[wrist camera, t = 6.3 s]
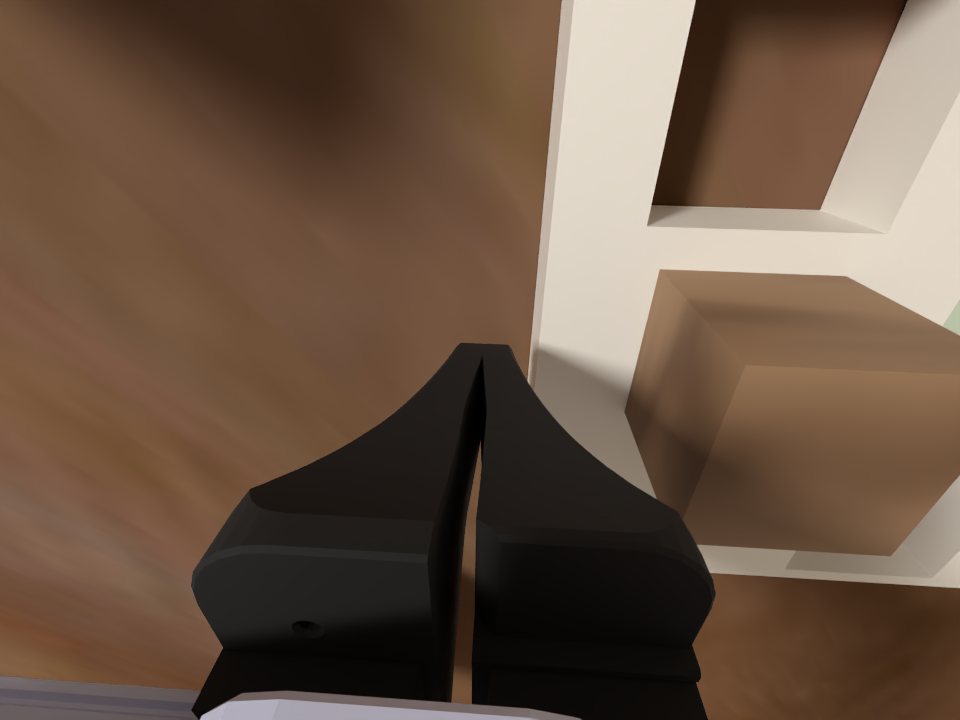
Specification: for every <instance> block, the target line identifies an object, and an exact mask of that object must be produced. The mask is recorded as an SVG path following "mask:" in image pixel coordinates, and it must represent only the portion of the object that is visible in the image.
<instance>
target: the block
mask: <svg viewBox="0 0 960 720" xmlns="http://www.w3.org/2000/svg"><path fill="white" fill-rule="evenodd" d="M624 412H625V415H626V418H627V420H628V423H629V426H630V428H631V431H632V434H633V437H634V439H635V442H636V445H637V447H638V450H639V453H640V455H641V458H642V461H643V463H644V466H645V469H646V471H647V474H648V477H649V479H650V482H651V485H652V488H653V490H654V493H655V496H656V498H657V500H659V501H661V502H662V503H664V504H666V505H667V506H669V507H671V508H672V509H674V510H676V511H677V512H678V513H679V514H680V516H681V518H682V520H683V521H684V523H685V525H686V527H687V528H688V530H689V532H690V533H691V535H692V537H693V539H694V540H695V542H696V544H697V545H711V546H728V547H744V548H761V549H777V550H794V551H810V552H827V553H843V554H860V555H876V556H891V555H892V554H893V553H894V552H895V551H896V550H897V548H898V547H899V546H900V545H901V544H902V543H903V541H904V540H905V539H906V538H907V537H908V535H909V534H910V533H911V532H912V531H913V530H914V528H915V527H916V526H917V525H918V524H919V523H920V521H921V520H922V519H923V518H924V517H925V515H926V514H927V513H928V512H929V511H930V510H931V508H932V507H933V506H934V505H935V504H936V503H937V501H938V500H939V499H940V498H941V497H942V495H943V494H944V493H945V492H946V491H947V490H948V488H949V487H950V486H951V485H952V484H953V483H954V481H955V480H956V479H957V478H958V477H959V475H960V335H958V334H956V333H954V332H952V331H950V330H948V329H946V328H944V327H943V326H941V325H939V324H937V323H935V322H933V321H931V320H929V319H927V318H925V317H923V316H921V315H920V314H918V313H916V312H914V311H912V310H910V309H908V308H906V307H904V306H902V305H900V304H899V303H897V302H895V301H893V300H891V299H889V298H887V297H885V296H883V295H881V294H879V293H877V292H876V291H874V290H872V289H870V288H868V287H866V286H864V285H862V284H860V283H858V282H856V281H855V280H853V279H851V278H849V277H847V276H830V275H803V274H776V273H749V272H722V271H695V270H668V269H660V270H659V274H658V278H657V282H656V286H655V290H654V294H653V299H652V303H651V307H650V311H649V315H648V319H647V323H646V327H645V331H644V335H643V339H642V343H641V347H640V351H639V355H638V359H637V363H636V367H635V371H634V375H633V379H632V383H631V387H630V391H629V395H628V399H627V403H626V407H625V411H624Z"/></svg>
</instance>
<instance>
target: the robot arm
mask: <svg viewBox="0 0 960 720" xmlns="http://www.w3.org/2000/svg"><path fill="white" fill-rule="evenodd" d="M480 441H481V460H482V471H481V481H480V490H479V499H478V508H477V517H476V568H475V617H474V633H473V648H472V704H460V703H451V699H452V685H453V672H454V658H455V645H456V632H457V620H458V607H459V595H460V582H461V570H462V558H463V546H464V535H465V525H466V518H467V511H468V506H469V500H470V495H471V490H472V484H473V479H474V473H475V468H476V463H477V457H478V452H479V446H480ZM191 587H192V590H193V592H194V595H195V598H196V601H197V603H198V606H199V607H200V609H201V611H202V612H203V614H204V616H205V617H206V619H207V621H208V622H209V624H210V626H211V628H212V629H213V631H214V633H215V634H216V636H217V638H218V639H219V641H220V643H221V644H222V646H223V649H222V651H221V653H220V655H219V657H218V659H217V661H216V663H215V665H214V667H213V669H212V671H211V673H210V674H209V676H208V678H207V680H206V682H205V684H204V686H203V688H202V690H201V691H198V690H185V689H171V688H158V687H145V686H131V685H118V684H104V683H91V682H78V681H64V680H51V679H37V678H24V677H10V676H0V720H708V719H707V716H706V712H705V709H704V706H703V703H702V700H701V697H700V694H699V691H698V688H697V684H696V682H699V680H700V678H701V671H700V667H699V664H698V661H697V658H696V655H695V653H694V650H693V647H692V644H693V642H694V640H695V638H696V636H697V634H698V633H699V631H700V629H701V627H702V625H703V623H704V621H705V620H706V618H707V616H708V614H709V612H710V610H711V608H712V605H713V601H714V598H715V595H716V594H715V589H714V584H713V579H712V577H711V575H710V572H709V570H708V568H707V565H706V563H705V561H704V558H703V556H702V554H701V552H700V550H699V548H698V546H697V544H696V542H695V540H694V539H693V537H692V535H691V533H690V532H689V530H688V528H687V527H686V525H685V523H684V521H683V520H682V518H681V516H680V514H679V513H678V512H677V511H676V510H674V509H672V508H671V507H669V506H667V505H666V504H664V503H662V502H661V501H659V500H657V499H656V498H654V497H652V496H651V495H649V494H647V493H646V492H644V491H642V490H641V489H639V488H637V487H636V486H634V485H633V484H631V483H630V482H628V481H627V480H625V479H624V478H622V477H621V476H620V475H618V474H617V473H615V472H614V471H613V470H611V469H610V468H608V467H607V466H606V465H604V464H603V463H602V462H601V461H599V460H598V459H597V458H596V457H594V456H593V455H592V454H591V453H590V452H588V451H587V450H586V449H585V448H584V447H583V446H581V445H580V444H579V443H578V442H577V441H576V440H575V439H574V438H573V437H572V436H571V435H570V434H569V433H568V432H567V431H566V430H565V429H564V428H563V427H562V426H561V425H560V424H559V423H558V422H557V420H556V419H555V418H554V417H553V416H552V415H551V413H550V412H549V411H548V410H547V408H546V407H545V406H544V404H543V403H542V402H541V400H540V399H539V398H538V396H537V395H536V393H535V392H534V391H533V389H532V387H531V386H530V384H529V383H528V381H527V379H526V378H525V376H524V374H523V373H522V371H521V369H520V367H519V365H518V363H517V361H516V359H515V357H514V354H513V351H512V349H511V348H510V346H509V345H500V344H475V343H460V344H459V345H458V346H457V347H456V348H455V350H454V351H453V352H452V354H451V355H450V356H449V358H448V359H447V360H446V362H445V363H444V364H443V365H442V366H441V368H440V369H439V370H438V371H437V372H436V373H435V374H434V376H433V377H432V378H431V379H430V380H429V381H428V382H427V383H426V384H425V385H424V386H423V387H422V388H421V389H420V390H419V391H418V392H417V393H416V394H415V395H414V396H413V397H412V398H411V399H410V400H409V401H408V402H407V403H406V404H404V405H403V406H402V407H401V408H400V409H399V410H397V411H396V412H395V413H394V414H392V415H391V416H390V417H389V418H387V419H386V420H385V421H383V422H382V423H381V424H379V425H378V426H376V427H374V428H373V429H371V430H370V431H368V432H367V433H365V434H363V435H362V436H360V437H359V438H357V439H356V440H354V441H352V442H351V443H349V444H347V445H346V446H344V447H342V448H340V449H338V450H336V451H335V452H333V453H331V454H329V455H327V456H325V457H323V458H321V459H319V460H317V461H315V462H313V463H311V464H309V465H307V466H304V467H302V468H300V469H298V470H295V471H293V472H291V473H288V474H286V475H283V476H281V477H279V478H276V479H274V480H271V481H269V482H267V483H264V484H262V485H259V486H257V487H254V488H251V489H250V490H249V491H248V492H247V494H246V495H245V496H244V498H243V499H242V500H241V502H240V503H239V504H238V505H237V507H236V508H235V509H234V511H233V512H232V513H231V515H230V516H229V518H228V519H227V521H226V522H225V524H224V525H223V527H222V529H221V530H220V532H219V533H218V535H217V536H216V538H215V539H214V541H213V542H212V544H211V545H210V547H209V548H208V550H207V551H206V553H205V554H204V556H203V557H202V559H201V560H200V562H199V563H198V565H197V567H196V568H195V570H194V571H193V575H192V584H191Z"/></svg>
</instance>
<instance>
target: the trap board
mask: <svg viewBox="0 0 960 720" xmlns="http://www.w3.org/2000/svg"><path fill="white" fill-rule="evenodd" d="M695 2H696V0H562V6H561V17H560V28H559V39H558V50H557V61H556V72H555V83H554V94H553V105H552V116H551V127H550V138H549V149H548V160H547V171H546V183H545V194H544V205H543V216H542V227H541V238H540V249H539V260H538V271H537V282H536V293H535V304H534V315H533V326H532V337H531V348H530V359H529V370H528V383H529V384H530V386H531V387H532V389H533V391H534V392H535V393H536V395H537V396H538V398H539V399H540V400H541V402H542V403H543V404H544V406H545V407H546V408H547V410H548V411H549V412H550V413H551V415H552V416H553V417H554V418H555V419H556V420H557V422H558V423H559V424H560V425H561V426H562V427H563V428H564V429H565V430H566V431H567V432H568V433H569V434H570V435H571V436H572V437H573V438H574V439H575V440H576V441H577V442H578V443H579V444H580V445H581V446H583V447H584V448H585V449H586V450H587V451H588V452H590V453H591V454H592V455H593V456H594V457H596V458H597V459H598V460H599V461H601V462H602V463H603V464H604V465H606V466H607V467H608V468H610V469H611V470H613V471H614V472H615V473H617V474H618V475H620V476H621V477H622V478H624V479H625V480H627V481H628V482H630V483H631V484H633V485H634V486H636V487H637V488H639V489H641V490H642V491H644V492H646V493H647V494H649V495H651V496H652V497H654V498H656V496H655V493H654V490H653V488H652V485H651V482H650V479H649V477H648V474H647V471H646V469H645V466H644V463H643V461H642V458H641V455H640V453H639V450H638V447H637V445H636V442H635V439H634V437H633V434H632V431H631V428H630V426H629V423H628V420H627V418H626V415H625V412H624V411H625V407H626V403H627V399H628V395H629V391H630V387H631V383H632V379H633V375H634V371H635V367H636V363H637V359H638V355H639V351H640V347H641V343H642V339H643V335H644V331H645V327H646V323H647V319H648V315H649V311H650V307H651V303H652V299H653V294H654V290H655V286H656V282H657V278H658V274H659V270H660V269H668V270H695V271H722V272H749V273H776V274H803V275H830V276H847V277H849V278H851V279H853V280H855V281H856V282H858V283H860V284H862V285H864V286H866V287H868V288H870V289H872V290H874V291H876V292H877V293H879V294H881V295H883V296H885V297H887V298H889V299H891V300H893V301H895V302H897V303H899V304H900V305H902V306H904V307H906V308H908V309H910V310H912V311H914V312H916V313H918V314H920V315H921V316H923V317H925V318H927V319H929V320H931V321H933V322H935V323H937V324H939V325H941V326H943V327H944V328H946V329H948V330H950V331H952V332H954V333H956V334H958V335H960V0H908V1H907V3H906V5H905V8H904V10H903V12H902V15H901V17H900V20H899V22H898V24H897V27H896V29H895V32H894V34H893V36H892V39H891V41H890V44H889V46H888V48H887V51H886V53H885V56H884V58H883V60H882V63H881V65H880V68H879V70H878V72H877V75H876V77H875V80H874V82H873V84H872V87H871V89H870V92H869V94H868V96H867V99H866V101H865V104H864V106H863V108H862V111H861V113H860V116H859V118H858V120H857V123H856V125H855V128H854V130H853V132H852V135H851V137H850V140H849V142H848V144H847V147H846V149H845V152H844V154H843V156H842V159H841V161H840V163H839V166H838V168H837V171H836V173H835V175H834V178H833V180H832V183H831V185H830V187H829V190H828V192H827V195H826V197H825V199H824V202H823V204H822V207H821V209H820V210H799V209H765V208H731V207H696V206H662V205H652V200H653V195H654V191H655V186H656V182H657V177H658V172H659V168H660V163H661V158H662V154H663V149H664V145H665V140H666V135H667V131H668V126H669V122H670V117H671V112H672V108H673V103H674V99H675V94H676V89H677V85H678V80H679V76H680V71H681V66H682V62H683V57H684V53H685V48H686V43H687V39H688V34H689V30H690V25H691V20H692V16H693V11H694V6H695ZM656 499H657V498H656ZM697 546H698V548H699V550H700V552H701V554H702V556H703V558H704V561H705V563H706V565H707V568H708V570H709V572H710V573H722V574H739V575H755V576H771V577H787V578H804V579H820V580H836V581H853V582H869V583H885V584H901V585H918V586H934V587H950V588H960V475H959V477H958V478H957V479H956V480H955V481H954V483H953V484H952V485H951V486H950V487H949V488H948V490H947V491H946V492H945V493H944V494H943V495H942V497H941V498H940V499H939V500H938V501H937V503H936V504H935V505H934V506H933V507H932V508H931V510H930V511H929V512H928V513H927V514H926V515H925V517H924V518H923V519H922V520H921V521H920V523H919V524H918V525H917V526H916V527H915V528H914V530H913V531H912V532H911V533H910V534H909V535H908V537H907V538H906V539H905V540H904V541H903V543H902V544H901V545H900V546H899V547H898V548H897V550H896V551H895V552H894V553H893V554H892V555H891V556H876V555H860V554H843V553H827V552H810V551H794V550H777V549H761V548H744V547H728V546H711V545H697Z"/></svg>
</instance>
